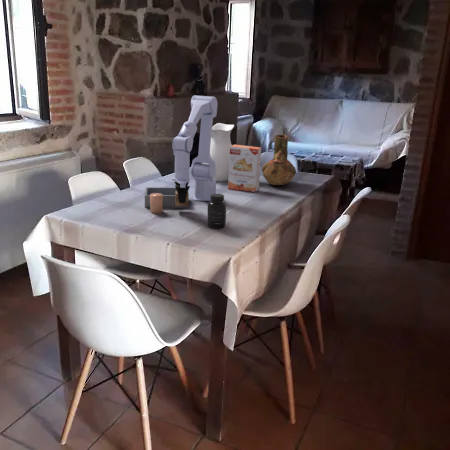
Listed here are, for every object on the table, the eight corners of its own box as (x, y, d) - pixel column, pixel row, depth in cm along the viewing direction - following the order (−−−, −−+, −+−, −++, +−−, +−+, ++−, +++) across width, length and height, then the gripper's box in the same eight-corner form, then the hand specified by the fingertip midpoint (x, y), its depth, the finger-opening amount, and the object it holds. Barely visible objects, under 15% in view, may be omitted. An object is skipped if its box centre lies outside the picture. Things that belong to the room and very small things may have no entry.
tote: (186, 198, 212) (186, 187, 210) (187, 207, 199) (188, 195, 197) (145, 198, 209) (145, 187, 208) (144, 207, 197) (144, 195, 195)
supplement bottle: (206, 223, 180) (207, 192, 177) (224, 223, 181) (226, 192, 177) (207, 229, 174) (208, 197, 170) (226, 229, 175) (227, 197, 171)
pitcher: (215, 174, 261) (216, 122, 252) (240, 179, 252) (243, 125, 243) (186, 181, 242) (187, 125, 233) (213, 187, 233) (215, 129, 224)
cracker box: (227, 189, 230) (229, 145, 224) (232, 186, 236) (233, 144, 229) (255, 193, 226) (258, 148, 219) (259, 190, 231) (262, 146, 224)
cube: (187, 202, 195) (187, 190, 193) (188, 206, 190) (188, 194, 189) (175, 202, 194) (175, 190, 193) (175, 206, 190) (175, 193, 188)
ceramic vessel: (258, 190, 231) (261, 138, 223) (262, 178, 255) (266, 131, 247) (294, 193, 228) (298, 140, 220) (295, 181, 253) (299, 133, 245)
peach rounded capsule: (162, 209, 195) (162, 193, 192) (162, 213, 190) (162, 196, 188) (150, 209, 194) (150, 193, 192) (150, 213, 189) (149, 196, 187)
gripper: (171, 163, 194) (171, 195, 198) (172, 171, 180) (172, 206, 185) (188, 163, 195) (188, 195, 199) (191, 171, 181) (190, 206, 185)
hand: (181, 200), depth 192 cm, fingers closed on cube, 5 cm apart
